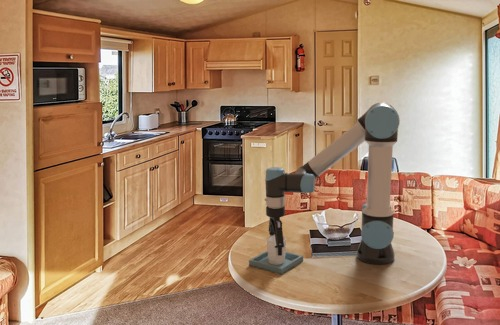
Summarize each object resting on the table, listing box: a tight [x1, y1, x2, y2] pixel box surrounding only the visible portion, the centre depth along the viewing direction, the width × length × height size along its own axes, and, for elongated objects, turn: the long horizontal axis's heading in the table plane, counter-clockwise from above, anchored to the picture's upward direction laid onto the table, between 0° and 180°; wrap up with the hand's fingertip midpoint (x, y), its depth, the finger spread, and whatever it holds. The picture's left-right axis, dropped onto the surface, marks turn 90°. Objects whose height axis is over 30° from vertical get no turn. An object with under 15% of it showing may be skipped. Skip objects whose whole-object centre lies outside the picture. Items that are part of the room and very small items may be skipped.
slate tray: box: [248, 250, 304, 275], centre depth 195 cm, size 16×16×2 cm
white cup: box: [266, 235, 287, 265], centre depth 194 cm, size 8×8×10 cm
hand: (276, 256), depth 195 cm, fingers open, 13 cm apart
